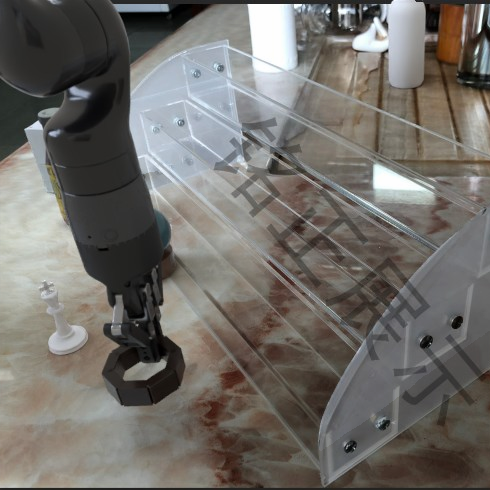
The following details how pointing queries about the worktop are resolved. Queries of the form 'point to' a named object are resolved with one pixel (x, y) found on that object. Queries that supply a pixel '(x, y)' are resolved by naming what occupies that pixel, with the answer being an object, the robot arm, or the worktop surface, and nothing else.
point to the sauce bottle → (43, 119)
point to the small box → (39, 152)
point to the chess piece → (61, 324)
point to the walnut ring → (143, 389)
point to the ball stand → (165, 244)
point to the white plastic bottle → (406, 43)
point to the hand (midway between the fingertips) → (153, 354)
